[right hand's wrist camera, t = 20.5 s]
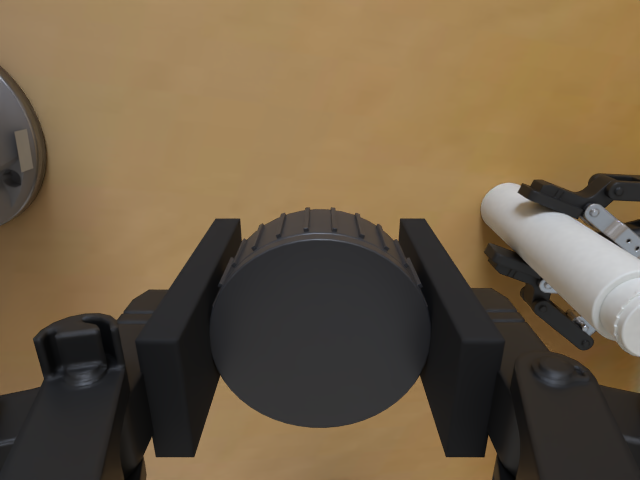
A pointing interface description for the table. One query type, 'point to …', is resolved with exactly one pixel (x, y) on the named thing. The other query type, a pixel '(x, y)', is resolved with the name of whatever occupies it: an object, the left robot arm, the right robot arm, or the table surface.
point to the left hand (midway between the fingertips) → (507, 222)
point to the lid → (320, 320)
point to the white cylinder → (572, 262)
